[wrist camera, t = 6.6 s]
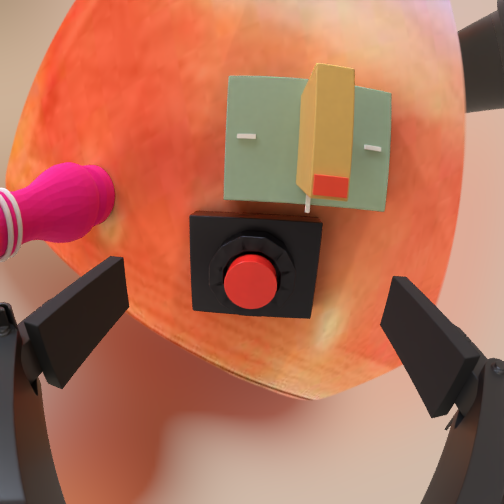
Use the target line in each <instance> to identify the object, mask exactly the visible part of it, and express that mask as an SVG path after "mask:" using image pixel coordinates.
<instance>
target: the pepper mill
mask: <svg viewBox="0 0 504 504" xmlns="http://www.w3.org/2000/svg"><path fill="white" fill-rule="evenodd" d="M114 200H115V192H114V186H113V183H112V180H111V178H110V177H109V175H108V174H107V173H106V171H104V170H103V169H102V168H100V167H98V166H95V165H86V166H81V165H79V164H76V163H71V162H66V163H61V164H58V165H54V166H52V167H50V168H49V169H47V170H45V171H44V172H43V173H41V174H40V175H39V176H38V177H37V178H36V179H35V180H34V181H33V182H32V183H31V184H30V185H29V186H27V187H26V188H23V189H20V190H17V191H14V192H9V191H8V190H7V189H5V188H0V262H4V261H6V260H7V259H8V258H11V257H14V256H15V255H16V254H17V252H18V251H19V249H20V246H21V245H22V244H23V243H26V242H28V241H31V240H44V241H49V242H55V243H65V242H71V241H74V240H77V239H79V238H82V237H83V236H84V235H86V234H87V233H88V232H89V231H90V230H91V228H92V227H93V226H95V225H97V224H100V223H102V222H103V221H105V220H106V219H107V217H108V216H109V215H110V213H111V211H112V209H113V206H114Z"/></svg>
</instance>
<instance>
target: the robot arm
mask: <svg viewBox="0 0 504 504" xmlns="http://www.w3.org/2000/svg"><path fill="white" fill-rule="evenodd" d="M128 308H129V301H128V294H127V286H126V278H125V269H124V259H123V257H114V256H110V257H109V258H107V259H106V260H104V261H103V262H101V263H100V264H99V265H97V266H96V267H94V268H93V269H92V270H90V271H89V272H87V273H86V274H84V275H83V276H82V277H80V278H79V279H78V280H76V281H75V282H74V283H72V284H71V285H69V286H68V287H67V288H65V289H64V290H63V291H62V292H60V293H59V294H58V295H56V296H55V297H54V298H52V299H50V300H48V301H47V302H45V303H44V304H43V305H42V307H39V308H38V309H37V310H36V311H34V312H33V313H31V314H30V315H29V316H28V317H26V319H24V320H23V321H22V322H20V323H19V324H18V325H17V323H16V320H15V317H14V314H13V310H12V307H11V305H10V304H9V303H4V302H3V303H0V504H66V503H65V500H64V497H63V494H62V491H61V487H60V484H59V481H58V477H57V474H56V470H55V466H54V462H53V458H52V454H51V449H50V445H49V439H48V434H47V429H46V422H45V416H44V408H43V400H42V391H41V383H40V380H39V378H38V376H39V375H40V374H41V373H42V371H43V374H44V376H45V378H46V380H47V382H48V383H49V384H51V385H53V386H56V387H58V388H61V389H63V388H64V386H65V385H66V384H67V382H68V381H69V380H70V378H71V377H72V376H73V374H74V373H75V372H76V371H77V369H78V368H79V367H80V366H81V364H82V363H83V362H84V361H85V359H86V358H87V357H88V356H89V354H90V353H91V352H92V351H93V349H94V348H95V347H96V346H97V345H98V343H99V342H100V341H101V340H102V338H103V337H104V336H105V335H106V334H107V332H108V331H109V330H110V329H111V328H112V326H113V325H114V324H115V323H116V322H117V321H118V319H119V318H120V317H121V316H122V315H123V314H124V312H125V311H126V310H127V309H128ZM380 326H381V327H382V329H383V331H384V332H385V334H386V336H387V337H388V339H389V341H390V342H391V344H392V346H393V348H394V349H395V351H396V353H397V355H398V356H399V358H400V360H401V362H402V363H403V365H404V367H405V369H406V371H407V372H408V374H409V376H410V378H411V380H412V382H413V383H414V385H415V387H416V389H417V391H418V393H419V395H420V397H421V398H422V400H423V402H424V404H425V406H426V408H427V410H428V412H429V414H430V416H431V418H435V417H439V416H443V415H447V414H448V412H449V411H450V409H451V408H452V406H453V404H454V403H455V404H456V406H457V407H458V410H457V412H456V413H455V415H454V416H453V418H452V419H451V421H450V422H449V423H448V425H447V426H446V428H445V430H447V429H448V428H449V427H450V426H451V428H450V431H449V434H448V438H447V441H446V444H445V446H444V450H443V452H442V455H441V458H440V460H439V463H438V466H437V468H436V471H435V473H434V475H433V478H432V480H431V482H430V485H429V487H428V489H427V491H426V494H425V496H424V498H423V500H422V502H421V504H504V361H502V360H500V359H495V358H490V359H487V358H486V357H485V356H484V355H483V353H482V352H481V351H480V350H479V349H478V348H477V346H476V345H475V344H474V343H473V342H471V340H470V339H469V338H468V337H466V334H465V333H464V332H463V331H462V330H461V329H460V328H459V327H457V326H455V325H454V324H452V323H451V322H450V321H449V319H447V317H446V316H445V315H443V313H442V312H441V311H440V310H439V309H438V308H437V307H436V306H435V305H434V304H433V303H432V302H431V301H430V300H429V299H428V298H427V297H426V296H425V295H424V294H423V293H422V292H421V291H420V290H419V289H418V288H417V287H416V286H415V285H414V284H413V283H412V282H411V281H410V280H409V279H408V278H407V277H401V276H393V278H392V282H391V286H390V290H389V294H388V298H387V302H386V306H385V309H384V313H383V317H382V320H381V324H380Z"/></svg>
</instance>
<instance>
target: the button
mask: <svg viewBox="0 0 504 504" xmlns="http://www.w3.org/2000/svg"><path fill="white" fill-rule="evenodd" d="M224 288H225V292H226V294H227V296H228V297H229V299H230V300H231V301H232V302H233V303H234V304H236V305H238V306H240V307H242V308H246V309H257V308H260V307H263V306H265V305H266V304H268V303H269V302H270V301H271V300H272V299H273V297H274V296H275V294H276V291H277V274H276V270H275V268H274V266H273V264H272V263H271V262H270V261H269V260H268V259H267V258H265V257H263V256H261V255H258V254H245V255H242V256H239V257H238V258H236V259H235V260H234V261H233V262H232V263H231V265H230V266H229V269H228V271H227V274H226V276H225V280H224Z"/></svg>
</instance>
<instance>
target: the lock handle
mask: <svg viewBox="0 0 504 504" xmlns="http://www.w3.org/2000/svg"><path fill="white" fill-rule="evenodd" d="M354 101H355V70H354V69H353V68H348V67H342V66H336V65H329V64H322V63H316V65H315V67H314V69H313V71H312V74H311V76H310V78H309V80H308V82H307V84H306V86H305V89H304V91H303V93H302V95H301V105H300V126H299V144H298V160H297V175H296V184H297V185H298V186H299V187H300V188H301V189H302V190H303V191H304V192H305V193H306V194H307V195H308V196H309V197H310V198H316V199H326V200H336V201H345V202H346V201H348V195H349V185H350V174H351V162H352V147H353V129H354Z"/></svg>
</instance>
